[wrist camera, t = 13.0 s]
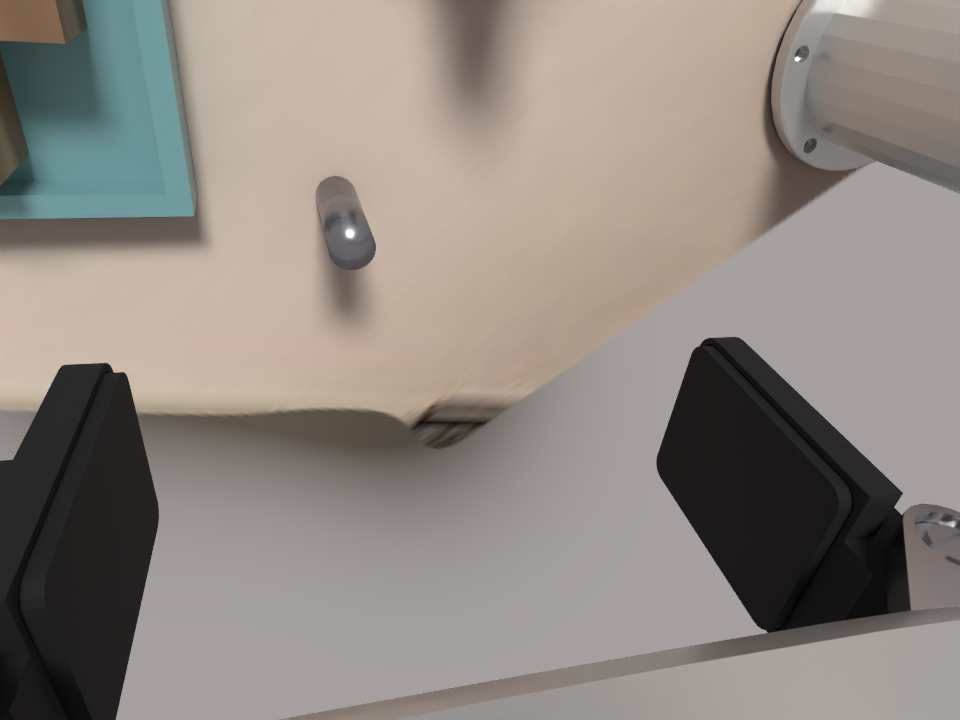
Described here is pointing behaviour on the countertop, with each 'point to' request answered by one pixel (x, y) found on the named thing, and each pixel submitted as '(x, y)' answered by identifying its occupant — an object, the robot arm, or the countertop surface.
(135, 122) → the tray
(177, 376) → the countertop surface
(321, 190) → the grey metallic cylinder
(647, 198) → the countertop surface
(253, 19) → the countertop surface
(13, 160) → the wooden frame with stub
